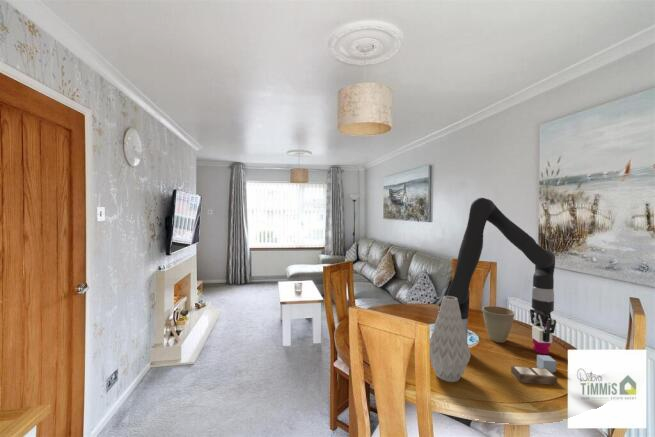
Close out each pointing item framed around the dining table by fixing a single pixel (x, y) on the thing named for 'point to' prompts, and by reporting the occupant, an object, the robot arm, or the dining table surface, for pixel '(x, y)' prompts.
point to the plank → (533, 375)
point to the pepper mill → (541, 346)
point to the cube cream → (539, 334)
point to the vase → (449, 342)
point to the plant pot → (498, 322)
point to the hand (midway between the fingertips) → (541, 338)
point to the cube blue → (546, 362)
